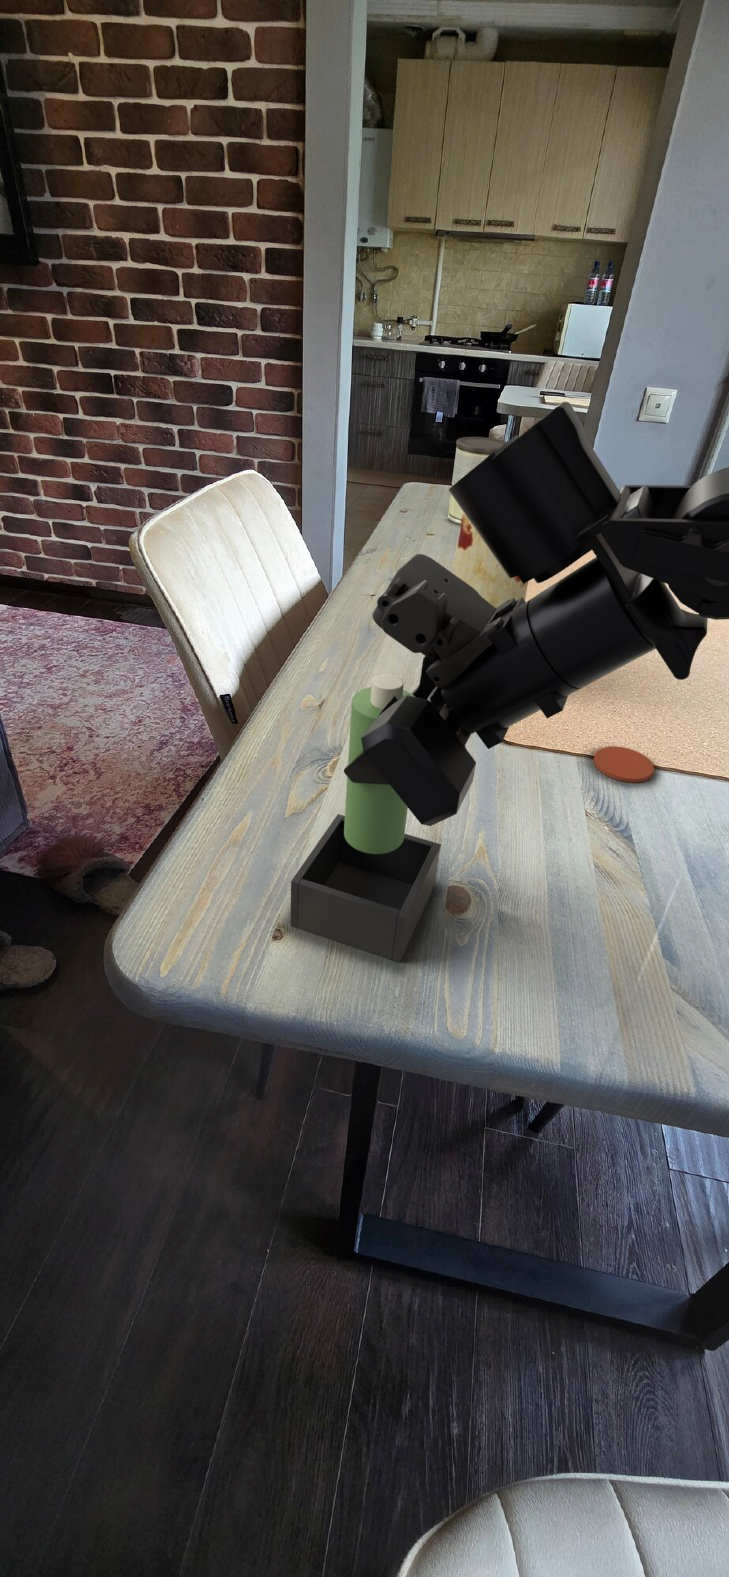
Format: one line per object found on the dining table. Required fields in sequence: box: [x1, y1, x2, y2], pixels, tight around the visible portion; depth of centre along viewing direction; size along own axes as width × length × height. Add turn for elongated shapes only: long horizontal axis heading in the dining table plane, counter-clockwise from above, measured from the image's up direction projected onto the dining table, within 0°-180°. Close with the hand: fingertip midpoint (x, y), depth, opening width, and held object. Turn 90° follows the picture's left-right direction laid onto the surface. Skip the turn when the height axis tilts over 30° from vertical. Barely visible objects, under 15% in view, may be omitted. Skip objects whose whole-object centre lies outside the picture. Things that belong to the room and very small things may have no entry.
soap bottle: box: [344, 673, 415, 854], centre depth 50 cm, size 4×4×12 cm
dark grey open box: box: [290, 813, 442, 964], centre depth 56 cm, size 9×9×5 cm
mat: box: [593, 746, 655, 784], centre depth 76 cm, size 6×6×1 cm
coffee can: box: [447, 436, 507, 525], centre depth 142 cm, size 10×10×14 cm
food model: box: [451, 513, 529, 608], centre depth 85 cm, size 10×7×20 cm
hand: (361, 757), depth 50 cm, fingers closed on soap bottle, 4 cm apart
